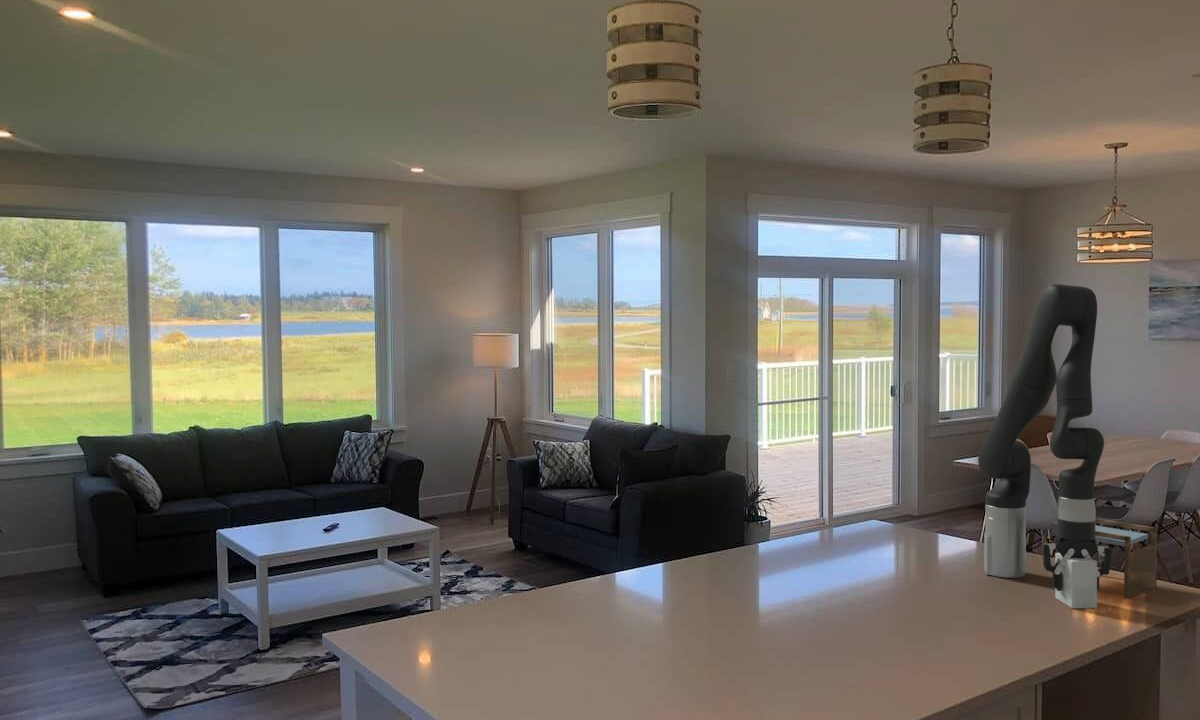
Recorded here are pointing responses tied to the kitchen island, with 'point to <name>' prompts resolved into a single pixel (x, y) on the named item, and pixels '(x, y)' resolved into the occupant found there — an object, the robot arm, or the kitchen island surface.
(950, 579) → the kitchen island surface
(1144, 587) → the trapdoor frame
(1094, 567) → the small box
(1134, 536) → the trapdoor
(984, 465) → the robot arm
